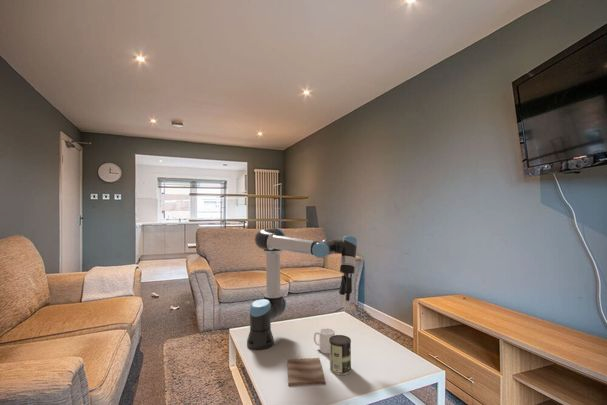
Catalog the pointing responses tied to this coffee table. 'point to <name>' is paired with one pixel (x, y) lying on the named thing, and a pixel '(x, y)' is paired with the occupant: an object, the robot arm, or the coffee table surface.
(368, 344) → the coffee table surface
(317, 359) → the walnut board
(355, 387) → the coffee table surface
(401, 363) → the coffee table surface
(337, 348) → the coffee can
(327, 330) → the cup
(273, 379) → the coffee table surface
